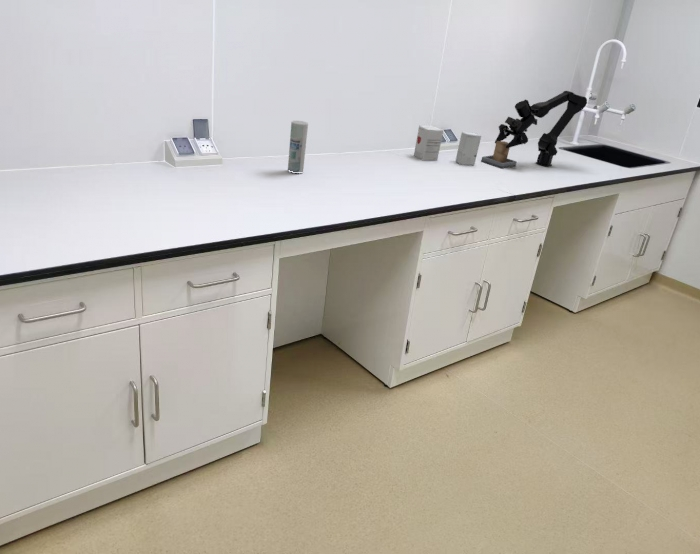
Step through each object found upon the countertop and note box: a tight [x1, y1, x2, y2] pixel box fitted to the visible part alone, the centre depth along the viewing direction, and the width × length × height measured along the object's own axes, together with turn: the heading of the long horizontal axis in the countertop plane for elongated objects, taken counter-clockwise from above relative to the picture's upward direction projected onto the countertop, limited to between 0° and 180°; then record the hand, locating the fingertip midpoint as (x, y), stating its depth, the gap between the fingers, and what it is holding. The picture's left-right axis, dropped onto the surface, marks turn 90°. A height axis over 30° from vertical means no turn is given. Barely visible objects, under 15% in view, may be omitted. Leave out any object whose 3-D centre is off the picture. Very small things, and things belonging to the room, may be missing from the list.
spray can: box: [287, 120, 309, 173], centre depth 232 cm, size 6×6×20 cm
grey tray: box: [480, 155, 517, 169], centre depth 296 cm, size 13×13×2 cm
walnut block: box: [492, 140, 510, 163], centre depth 294 cm, size 5×5×10 cm
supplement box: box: [413, 124, 444, 161], centre depth 285 cm, size 9×9×15 cm
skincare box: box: [455, 131, 482, 166], centre depth 285 cm, size 8×6×15 cm
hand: (500, 145), depth 292 cm, fingers open, 9 cm apart
